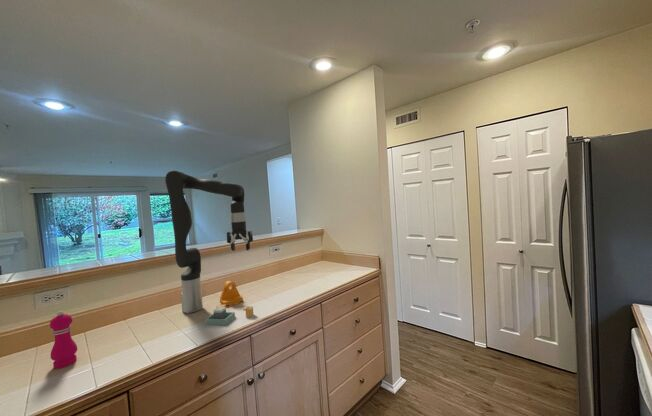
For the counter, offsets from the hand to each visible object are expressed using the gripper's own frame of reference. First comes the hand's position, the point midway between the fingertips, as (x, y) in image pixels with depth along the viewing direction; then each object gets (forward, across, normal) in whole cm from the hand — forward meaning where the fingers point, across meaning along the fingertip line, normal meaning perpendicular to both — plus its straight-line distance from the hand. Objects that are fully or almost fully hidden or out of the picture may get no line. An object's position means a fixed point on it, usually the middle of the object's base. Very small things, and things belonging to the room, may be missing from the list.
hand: (240, 250), depth 147 cm
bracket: (+30, -9, +2) cm, 32 cm away
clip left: (+30, -7, -12) cm, 33 cm away
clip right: (+30, +10, -14) cm, 35 cm away
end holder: (+30, -2, -20) cm, 36 cm away
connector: (+30, -2, -20) cm, 36 cm away
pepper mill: (+30, -43, -57) cm, 78 cm away
